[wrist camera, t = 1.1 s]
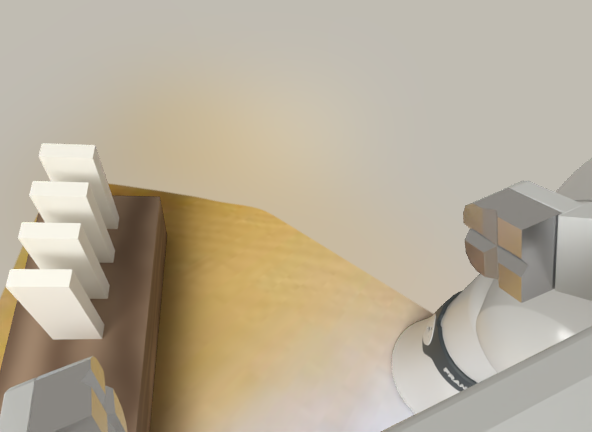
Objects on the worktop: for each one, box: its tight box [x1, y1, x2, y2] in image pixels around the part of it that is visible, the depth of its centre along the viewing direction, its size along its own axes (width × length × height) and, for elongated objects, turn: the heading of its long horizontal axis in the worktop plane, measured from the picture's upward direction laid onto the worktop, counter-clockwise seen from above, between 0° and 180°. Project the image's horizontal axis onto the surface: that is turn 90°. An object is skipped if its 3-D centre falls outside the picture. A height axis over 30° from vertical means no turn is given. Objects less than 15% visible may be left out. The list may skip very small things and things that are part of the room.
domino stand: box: [0, 196, 167, 432], centre depth 60 cm, size 14×34×10 cm, turn 3°
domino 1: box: [39, 143, 119, 229], centre depth 56 cm, size 5×2×14 cm, turn 93°
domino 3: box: [18, 222, 110, 299], centre depth 51 cm, size 5×2×14 cm, turn 93°
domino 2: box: [29, 181, 115, 263], centre depth 54 cm, size 5×2×14 cm, turn 93°
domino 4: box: [6, 269, 104, 340], centre depth 49 cm, size 5×2×14 cm, turn 93°
